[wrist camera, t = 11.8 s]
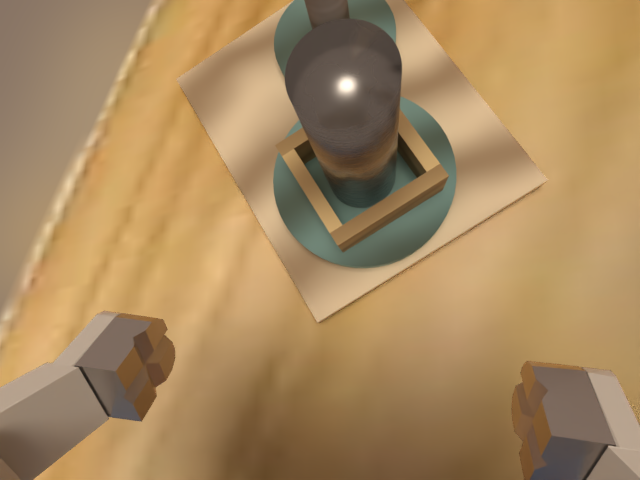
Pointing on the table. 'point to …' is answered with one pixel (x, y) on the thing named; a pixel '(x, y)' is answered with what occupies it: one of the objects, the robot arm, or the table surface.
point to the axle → (349, 106)
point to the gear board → (308, 177)
